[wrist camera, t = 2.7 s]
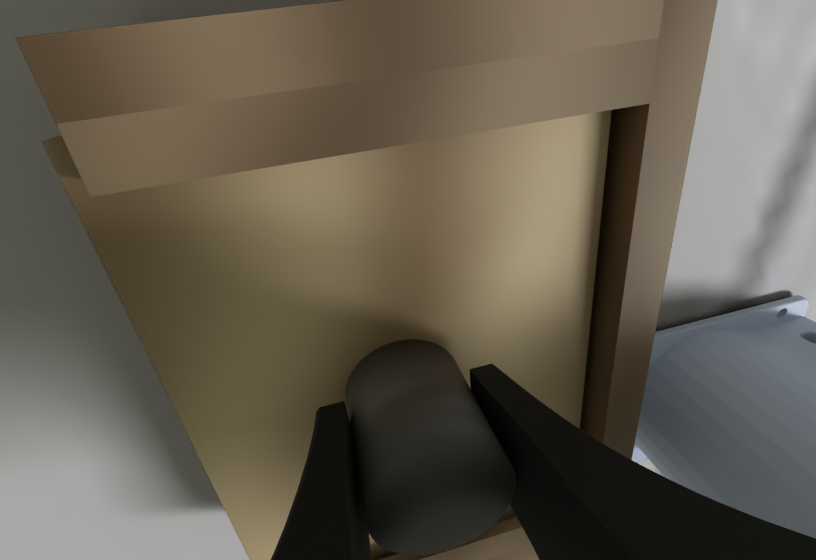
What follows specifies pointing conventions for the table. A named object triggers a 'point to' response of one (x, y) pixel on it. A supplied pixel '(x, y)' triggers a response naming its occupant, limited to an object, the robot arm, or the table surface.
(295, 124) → the box
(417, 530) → the lid
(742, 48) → the table surface
